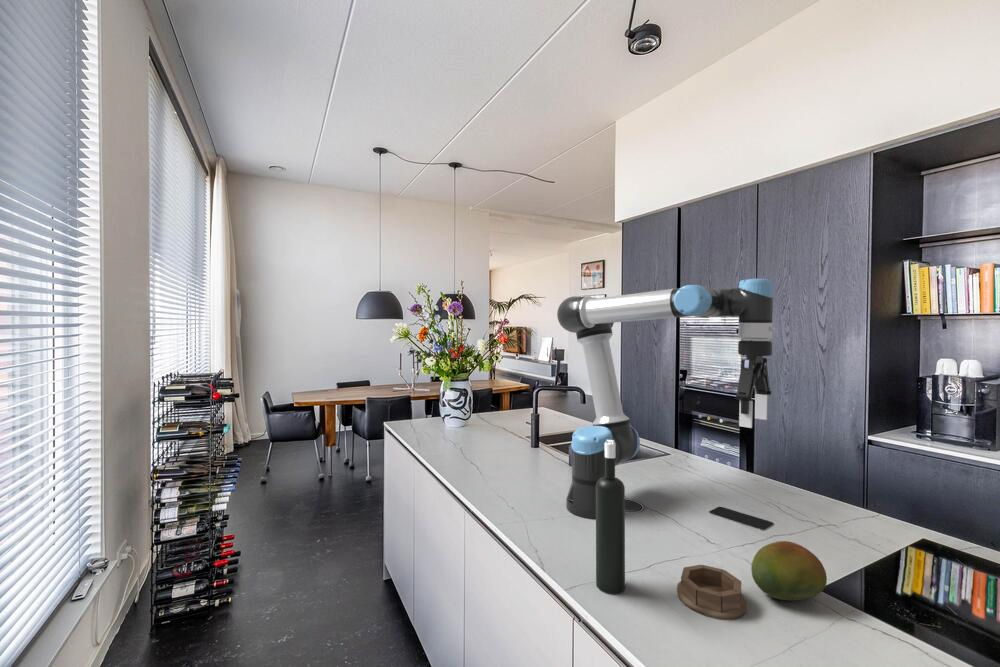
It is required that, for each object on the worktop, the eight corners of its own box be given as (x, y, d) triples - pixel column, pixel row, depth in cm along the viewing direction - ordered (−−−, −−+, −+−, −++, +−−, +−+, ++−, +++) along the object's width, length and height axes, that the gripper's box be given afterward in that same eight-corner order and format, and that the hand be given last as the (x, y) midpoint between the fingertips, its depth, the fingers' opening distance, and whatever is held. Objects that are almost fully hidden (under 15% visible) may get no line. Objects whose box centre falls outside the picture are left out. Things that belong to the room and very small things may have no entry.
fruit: (834, 600, 86) (834, 549, 86) (806, 624, 79) (806, 568, 79) (770, 573, 95) (770, 527, 95) (740, 593, 88) (740, 543, 88)
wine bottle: (607, 597, 87) (607, 445, 87) (590, 582, 92) (590, 438, 92) (630, 590, 89) (630, 442, 89) (612, 575, 94) (612, 436, 94)
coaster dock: (672, 606, 84) (672, 586, 84) (681, 575, 95) (681, 557, 95) (747, 627, 78) (747, 606, 78) (747, 591, 89) (747, 572, 89)
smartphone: (719, 505, 132) (775, 522, 120) (719, 508, 132) (775, 525, 120) (707, 512, 127) (763, 530, 115) (707, 514, 127) (763, 532, 115)
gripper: (757, 341, 101) (756, 433, 101) (783, 339, 119) (782, 418, 119) (722, 340, 106) (721, 427, 106) (752, 338, 124) (751, 414, 124)
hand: (753, 422), depth 113 cm, fingers open, 13 cm apart
